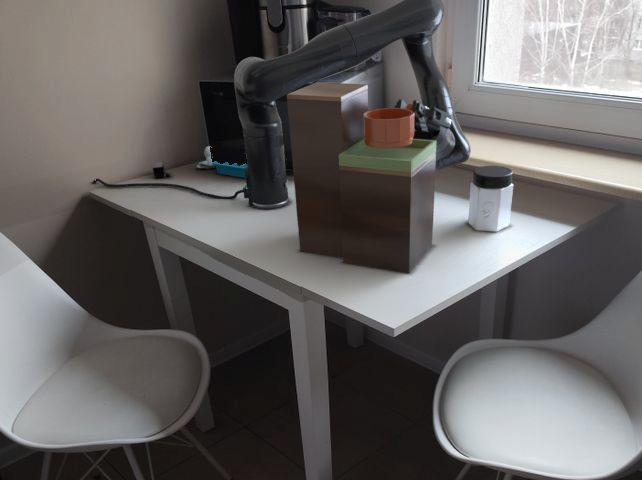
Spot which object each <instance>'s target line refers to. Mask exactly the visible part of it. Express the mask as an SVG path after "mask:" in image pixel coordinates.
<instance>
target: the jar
mask: <svg viewBox="0 0 642 480" xmlns="http://www.w3.org/2000/svg"><path fill="white" fill-rule="evenodd" d="M513 173H514V172H513V169H511V168H509V167H506V166H503V165H483V166H479V167H476V168H474V170H473V175H472V181H471V182H470V187H469V199H468V200H469V201H468V214H467V215H468V217H467V223H468V224H469V225H470V226H471V227H472V228H473V229H474V230H475V231H482V232H499V231H502V230H503V229H505V228H507V227H509V226H510V220H511V212H512V201H513V195H514V194H513V193H514V183H512V182H513Z"/></svg>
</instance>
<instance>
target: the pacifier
mask: <svg viewBox="0 0 642 480" xmlns="http://www.w3.org/2000/svg"><path fill="white" fill-rule="evenodd" d="M210 147H211V146H210V145H208V146H206V147H205V148H204V151H203V155H204V157H205V159H206V160H204V161H199V162H197V165H196V168H197V169H206V170H211V169H214V168H216V165H213V164H212V159H211V152H210Z"/></svg>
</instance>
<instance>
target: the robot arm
mask: <svg viewBox="0 0 642 480" xmlns="http://www.w3.org/2000/svg"><path fill="white" fill-rule="evenodd" d="M444 15H445V5H444V2H443V1H442V0H401V1H399V2H396V3H395V4H393V5H391V6H389V7H387V8H385V9H383V10H380V11H377V12H375V13H372V14H369V15H365V16H363V17H360V18H357V19H355V20H353V21H349V22H346V23H343V24H341V25H337V26H334V27H332V28H330V29H327V30H325V31H323V32H321V33H319V34H317V35H316V36H315V37H312V39H310V40H308V42H307V43H305V44H304V45H302V46H301V47H299V48H298V49H296V50H294V51H292V52H289V53H285V54H283V55H279V56H277V57H272V58H268V59H263V58H261V57H257V56H249V57H246V58H244V59H242V60H241V61H240V62H239V63H238V64H237V66H236V68H235V70H234V76H233V83H234V92H235V99H236V106H237V113H238V118H239V120H240V124H241V128H242V134H243V142H244V150H245V154H246V159H247V166H246V167H245V177H246V178H245V185H244V186H243V187H242V189H239V190H236V191H235V192H234V195H229V196H225V195H224V196H222V195H217V194H212V193H207V192H204V191H200V190H199V189H196V188H194V187H192V186H191V187H190V186H186V185H183V184H175V183H168V182H167V183H166V182H165V183H164V182H142V183H141V182H138V183H137V182H135V183H119V184H116V183H115V184H114V183H113V184H112V183H107V182H106V181H103V180H102V179H100V178H95V179H96V181H95V179H93V181H92V184H96V183H97V182H99V183H100V184H101V185H103V186H105V187H108V188H126V187H127V188H128V187H171V188H177V189H184V190H187V191H190V192H193V193H195V194H198V195H201V196H203V197H207V198H214V199H219V200H233V199H236V198H237V197H238V195H239V194H243V199H247V201H248V207H254V208H256V209H261V210H263V209H264V210H271V209H278V208H282V207H285V206H286V205H288V204H289V202H290V196H289V190H288V186H289V180H288V178H287V168H286V167H287V166H286V164H285V159H286V156H285V145H284V134H283V125H282V119H281V117H280V114H279V112H278V108H277V104H276V101H277V100H279V99H281V98H282V97H285V96H287V94H289V93H292V92H294V91H296V90H298V89H300V88H302V87H303V86H305V85H308V84H312V83H315V82H317V81H321V80H323V79H326V78H328V77H331V76H334V75H337V74H340V73H343V72H346V71H349V70H350V69H353V68H355V67H357V66H360V65H361V64H363V63H365V62H367V61H368V60H370V59H371V58H373V57H374V56H376V55H377V54H379V53H380V52H381V51H383V50H384V49H386V48H387V47H389V46H390V45H392V44H394V43H395V42H398V41H400V40H401V41H402V44H403V47H404V49H405V51H406V54H407V56H408V60H409V62H410V65H411V68H412V71H413V73H414V77H415V81H416V83H417V87H418V91H419V95H420V99H421V102H420V101H419V100H418V99H414V100H412V104H413V105H412V111H413V112H414V113H415V116H414V137H413V139H421V140H434V141H436V164H435V171H436V170H438V171H440V170H443V169H444V170H445V169H447V168H450V167H453V166H457V165H461V164H463V163H466V162H467V161H469V159H470V157H471V151H472V150H471V145H470V142H469V141H468V139H467V137H466V135H465V134H464V132H463V130H462V127H461V126H460V123H459V121H458V118H457V115H456V111H455V107H454V103H453V98H452V93H451V90H450V86H449V84H448V81H447V80H446V78H445V77H444V74H443V73H442V71H441V70H440V67H439V66H438V63H437V61H436V57H435V53H434V46H433V35H435V32H436V31H437V30H438V28H439V27H440V26H441V24H442V21H443V19H444ZM407 105H408V104H407V102H405V100H404V99H398V100H397V101H396V104H395V105H394V107H393V108H404V107H405V106H407Z"/></svg>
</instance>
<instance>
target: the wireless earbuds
mask: <svg viewBox="0 0 642 480" xmlns="http://www.w3.org/2000/svg"><path fill="white" fill-rule="evenodd" d="M152 172H153V176H154V178H155V179H164V178H171V177H172V175H171V172H170V171H166V172H165V166H164V161H163V160H159V161H152Z"/></svg>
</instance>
